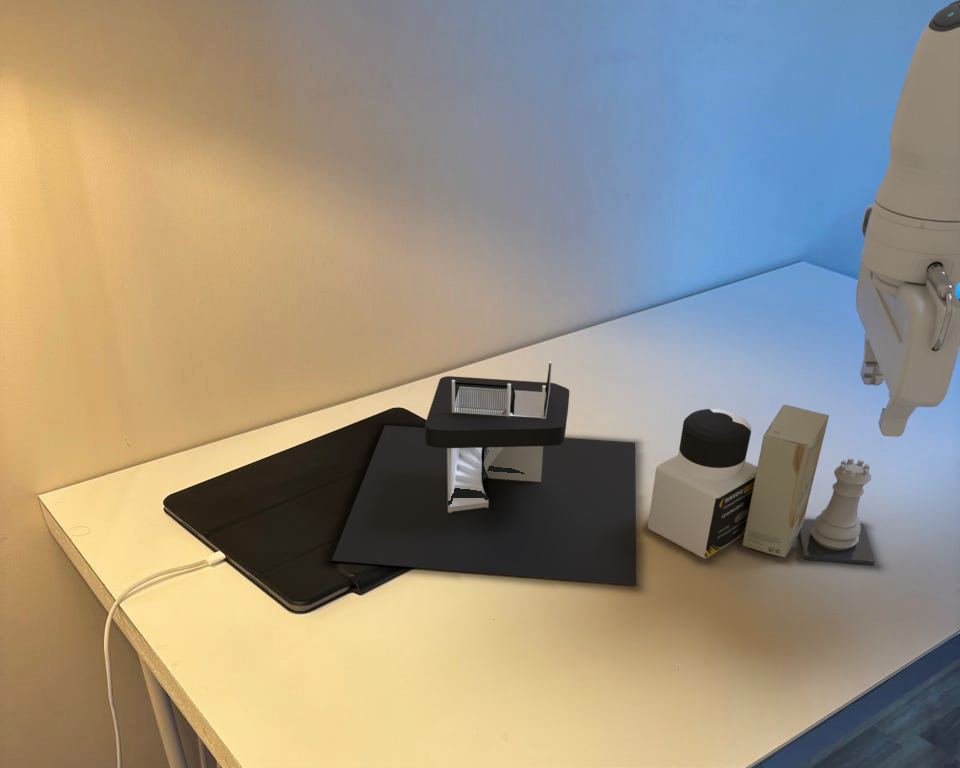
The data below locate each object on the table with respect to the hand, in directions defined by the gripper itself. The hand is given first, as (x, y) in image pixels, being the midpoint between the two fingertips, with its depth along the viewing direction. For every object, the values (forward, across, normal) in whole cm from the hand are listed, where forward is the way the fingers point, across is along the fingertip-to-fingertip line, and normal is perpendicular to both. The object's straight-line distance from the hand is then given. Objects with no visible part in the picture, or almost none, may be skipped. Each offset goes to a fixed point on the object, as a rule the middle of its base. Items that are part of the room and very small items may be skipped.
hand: (879, 405), depth 85 cm
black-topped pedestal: (+14, +3, +34) cm, 37 cm away
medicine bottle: (+14, 0, +14) cm, 20 cm away
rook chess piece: (+14, 0, +1) cm, 14 cm away
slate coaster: (+14, 0, +1) cm, 14 cm away
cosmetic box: (+14, 0, +7) cm, 16 cm away
